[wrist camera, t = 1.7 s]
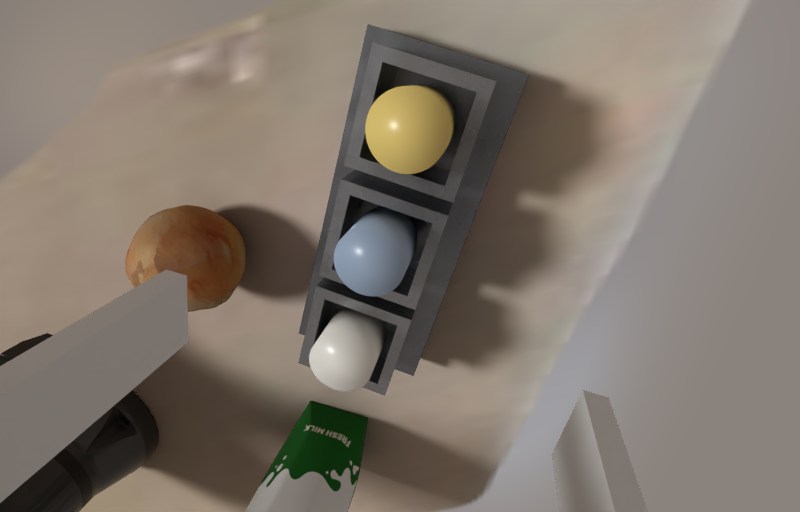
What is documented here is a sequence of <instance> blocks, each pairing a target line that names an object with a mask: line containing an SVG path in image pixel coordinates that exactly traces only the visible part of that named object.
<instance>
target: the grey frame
mask: <svg viewBox="0 0 800 512" xmlns="http://www.w3.org/2000/svg"><path fill="white" fill-rule="evenodd" d="M528 76H529V75H528V74H525V73H522V72H519V71H515V70H512V69H509V68H506V67H503V66H499V65H496V64H493V63H490V62H487V61H484V60H480V59H477V58H474V57H471V56H468V55H464V54H461V53H458V52H455V51H452V50H449V49H445V48H442V47H439V46H436V45H433V44H430V43H426V42H423V41H420V40H417V39H414V38H410V37H407V36H404V35H401V34H398V33H395V32H391V31H388V30H385V29H382V28H379V27H375V26H372V25H369V24H368V25H367V30H366V34H365V39H364V43H363V48H362V52H361V57H360V61H359V66H358V70H357V75H356V79H355V84H354V88H353V93H352V97H351V102H350V106H349V111H348V115H347V120H346V124H345V129H344V133H343V138H342V142H341V147H340V151H339V156H338V160H337V165H336V169H335V174H334V178H333V182H332V187H331V191H330V196H329V200H328V205H327V209H326V214H325V218H324V223H323V227H322V232H321V236H320V241H319V245H318V250H317V254H316V259H315V263H314V268H313V272H312V277H311V281H310V286H309V290H308V295H307V299H306V304H305V308H304V313H303V317H302V322H301V326H300V331H299V333H300V334H302V335H305V337H304V341H303V346H302V350H301V354H300V359H299V363H300V364H303V365H305V366H308V367H310V363H309V355H310V351H311V349H312V347H313V345H314V344H315V343H316V341H317V340H318V338H319V337H320V335H321V334H322V332H323V331H324V329H325V328H326V326H327V325H328V323H329V322H330V320H331V319H332V317H333V316H334V314H335V313H336V312H337V311H338V310H339V309H341V308H342V307H344V306H345V307H347V308H350V309H353V310H356V311H358V312H361V313H364V314H367V315H369V316H372V317H375V318H378V319H380V320H383V321H384V323H385V326H386V329H387V338H386V341H385V343H384V346H383V348H382V351H381V353H380V355H379V358H378V360H377V363H376V365H375V367H374V370H373V372H372V375H371V377H370V379H369V381H368V382H367V384H366V385H365V386H363V387H364V388H366V389H369V390H372V391H374V392H377V393H380V394H382V395H385V394H386V391H387V388H388V385H389V382H390V380H391V377H392V374H393V371H394V369H396V370H399V371H402V372H404V373H407V374H410V375H412V376H414V373H415V371H416V368H417V365H418V363H419V360H420V358H421V355H422V352H423V350H424V347H425V344H426V342H427V339H428V337H429V334H430V331H431V329H432V326H433V324H434V321H435V318H436V316H437V313H438V311H439V308H440V305H441V303H442V300H443V298H444V295H445V292H446V290H447V287H448V284H449V282H450V279H451V277H452V274H453V271H454V269H455V266H456V264H457V261H458V258H459V256H460V253H461V251H462V248H463V245H464V243H465V240H466V237H467V235H468V232H469V230H470V227H471V224H472V222H473V219H474V217H475V214H476V211H477V209H478V206H479V204H480V201H481V198H482V196H483V193H484V191H485V188H486V185H487V183H488V180H489V177H490V175H491V172H492V170H493V167H494V164H495V162H496V159H497V157H498V154H499V151H500V149H501V146H502V144H503V141H504V138H505V136H506V133H507V131H508V128H509V125H510V123H511V120H512V117H513V115H514V112H515V110H516V107H517V104H518V102H519V99H520V97H521V94H522V91H523V89H524V86H525V84H526V81H527V78H528ZM410 85H427V86H431V87H434V88H436V89H438V90H439V91H441V92H442V93H443V94H444V95H445V96H446V97H447V98H448V99H449V101H450V102H451V104H452V106H453V109H454V112H455V116H456V129H455V133H454V136H453V139H452V141H451V142H450V144H449V146H448V147H447V148H446V150H445V151H444V153H443V154H442V156H441V157H440V158H439V160H438V161H437V162H436V163H435V164H434V165H432V166H431V167H430V168H428V169H426V170H424V171H422V172H419V173H415V174H401V173H397V172H394V171H391V170H389V169H387V168H386V167H384V166H383V165H381V164H380V163H379V162H378V161H377V160H376V158H375V157H374V156H373V154H372V153H371V151H370V149H369V146H368V143H367V140H366V134H365V125H366V119H367V115H368V112H369V110H370V108H371V106H372V105H373V103H374V102H375V101H376V100H377V98H379V97H380V96H381V95H382V94H383V93H385V92H386V91H388V90H390V89H393V88H396V87H400V86H410ZM380 207H386V208H389V209H392V210H395V211H398V212H400V213H403V214H404V215H406V216H407V217H408V218H409V219H410V221H411V222H412V223H413V225H414V227H415V229H416V232H417V240H418V242H417V248H416V250H415V253H414V255H413V257H412V259H411V262H410V264H409V266H408V268H407V270H406V272H405V275H404V277H403V279H402V281H401V283H400V284H399V285H398V286H397V287H396V288H395V289H394V290H393V291H391V292H390V293H388V294H385V295H381V296H365V295H362V294H359V293H357V292H355V291H353V290H351V289H350V288H348V287H347V286H346V285H345V284H344V283H343V282H342V280H341V279H340V278H339V276H338V274H337V272H336V269H335V266H334V251H335V248H336V245H337V243H338V242H339V240H340V239H341V238H342V237H343V236H344V235H345V234H346V233H347V232H348V231H349V230H350V229H351V228H352V227H353V225H354V224H355V223H356V222H357V221H358V220H359V219H360V218H361V217H362V216H363V215H364V214H365V213H367V212H368V211H370V210H372V209H375V208H380Z"/></svg>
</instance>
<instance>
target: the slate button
mask: <svg viewBox="0 0 800 512" xmlns="http://www.w3.org/2000/svg"><path fill="white" fill-rule="evenodd" d="M417 242H418V240H417V232H416V229H415V227H414V225H413V223H412V222H411V221H410V219H409V218H408V217H407V216H406V215H404V214H403V213H400V212H398V211H395V210H392V209H389V208H386V207H380V208H375V209H372V210H370V211H368V212H367V213H365V214H364V215H363V216H362V217H361V218H360V219H359V220H358V221H357V222H356V223H355V224H354V225H353V227H352V228H351V229H350V230H349V231H348V232H347V233H346V234H345V235H344V236H343V237H342V238H341V239H340V240H339V242H338V243H337V245H336V248H335V251H334V266H335V269H336V272H337V274H338V276H339V278H340V279H341V280H342V282H343V283H344V284H345V285H346V286H347V287H348V288H350V289H351V290H353V291H355V292H357V293H359V294H362V295H365V296H381V295H385V294H388V293H390V292H391V291H393V290H394V289H395V288H396V287H397V286H398V285H399V284H400V283H401V281H402V279H403V277H404V275H405V272H406V270H407V268H408V266H409V264H410V262H411V259H412V257H413V255H414V253H415V250H416V248H417Z"/></svg>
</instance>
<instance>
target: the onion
mask: <svg viewBox="0 0 800 512" xmlns="http://www.w3.org/2000/svg"><path fill="white" fill-rule="evenodd" d="M245 265H246V250H245V245H244V242H243V239H242V237H241V234H240V232H239V231H238V230H237V229H236V227H235V226H234V225H232V224H231V223H230V222H229V221H227V220H226V219H225V218H223V217H222V216H220V215H218V214H217V213H215V212H213V211H211V210H208V209H206V208H202V207H198V206H190V205H185V206H178V207H175V208H170V209H165V210H162V211H160V212H158V213H156V214H154V215H152V216H151V217H149V218H148V219H147V220H146V221H145V222H144V223H143V224H142V225H141V227H140V228H139V229H138V231H137V232H136V234H135V235H134V238H133V240H132V242H131V244H130V247H129V249H128V252H127V256H126V267H125V269H126V274H127V276H128V278H129V280H130V282H131V283H132V285H133V286H134V288H135V287H137V286H139V285H141V284H142V283H144V282H146V281H147V280H149V279H151V278H153V277H154V276H156V275H158V274H159V273H161V272H163V271H165V270H169V271H173V272H176V273H180V274H183V275H187V310H188V312H190V311H196V310H202V309H211V308H214V307H217V306H218V305H220V304H222V303H224V302H226V301H227V300H228V299H229V298H230V296H231V295H232V293H233V292H234V290H235V289H236V287H237V286H238V284H239V282H240V281H241V279H242V277H243V275H244V270H245Z"/></svg>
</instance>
